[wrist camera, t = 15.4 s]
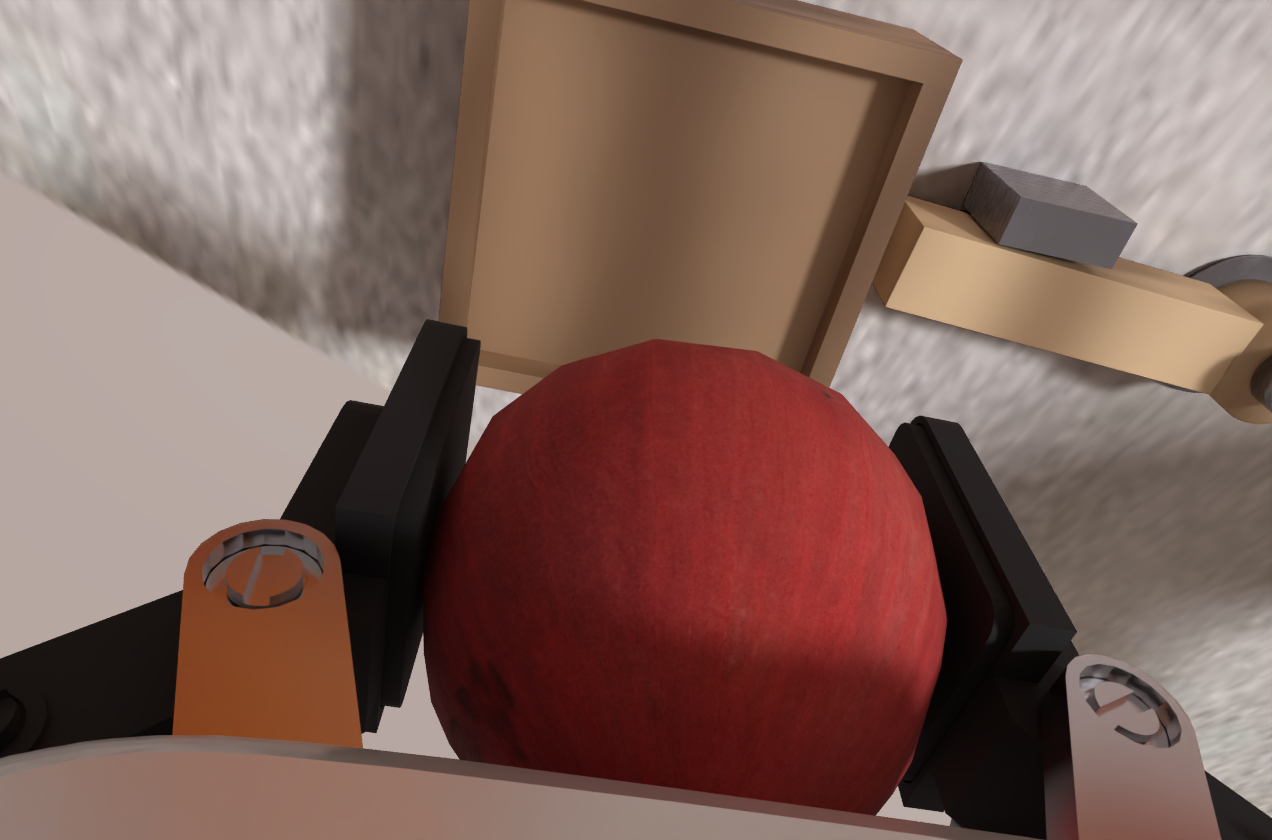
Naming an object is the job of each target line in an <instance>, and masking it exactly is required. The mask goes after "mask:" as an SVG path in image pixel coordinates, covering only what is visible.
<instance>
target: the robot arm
mask: <svg viewBox="0 0 1272 840" xmlns="http://www.w3.org/2000/svg"><path fill="white" fill-rule="evenodd" d="M467 332H468V330H467V327H464V326H459V325H454V324H448V323H443V322H438V321H433V320H426V321H425V323H424V325H423V327H422V329H421V331H420V333H419V335H418V337H417V339H416V341H415V343H414V345H413V347H412V349H411V352H410V354H409V356H408V358H407V360H406V362H405V364H404V366H403V368H402V370H401V372H400V374H399V376H398V379H397V381H396V383H395V385H394V387H393V389H392V391H391V393H390V395H389V397H388V400H387V402H386V404H385V406H379V405H374V404H368V403H363V402H358V401H352V400H350V401H347V402H346V403H345V405H344V406H343V408H342V409H341V411H340V413H339V415H338V416H337V418H336V420H335V422H334V423H333V425H332V427H331V429H330V431H329V433H328V434H327V436H326V438H325V440H324V441H323V443H322V445H321V447H320V448H319V450H318V452H317V454H316V456H315V458H314V459H313V461H312V463H311V465H310V467H309V468H308V470H307V472H306V474H305V475H304V477H303V479H302V481H301V482H300V484H299V486H298V488H297V490H296V491H295V493H294V495H293V497H292V499H291V500H290V502H289V504H288V506H287V508H286V509H285V511H284V513H283V515H282V516H281V518H280V519H278V520H277V519H262V520H255V521H249V522H244V523H239V524H237V525H234V526H232V527H229V528H226V529H224V530H221V531H219V532H217V533H216V534H214V535H213V536H211V537H210V538H208V539H207V540H206V541H204V542H203V543H201V545H200V546H199V547H198V548H197V549H196V550H195V552H194V553H193V554H192V555H191V557H190V558H189V561H188V564H187V567H186V570H185V573H184V584H183V590H182V591H179V592H176V593H174V594H171V595H168V596H166V597H163V598H160V599H157V600H155V601H152V602H150V603H147V604H144V605H142V606H139V607H137V608H134V609H131V610H129V611H126V612H123V613H120V614H118V615H115V616H112V617H110V618H107V619H105V620H102V621H99V622H97V623H94V624H91V625H88V626H86V627H83V628H80V629H78V630H75V631H72V632H70V633H67V634H64V635H62V636H59V637H57V638H54V639H51V640H48V641H46V642H43V643H41V644H38V645H35V646H33V647H30V648H27V649H25V650H22V651H19V652H17V653H14V654H11V655H9V656H6V657H4V658H1V659H0V840H1272V818H1271V817H1269V816H1268V815H1267V814H1265V813H1264V812H1262V811H1261V810H1259V809H1258V808H1257V807H1255V806H1254V805H1252V804H1251V803H1250V802H1248V801H1247V800H1245V799H1244V798H1243V797H1241V796H1240V795H1238V794H1237V793H1236V792H1234V791H1233V790H1231V789H1230V788H1229V787H1227V786H1226V785H1224V784H1223V783H1222V782H1220V781H1219V780H1217V779H1216V778H1215V777H1213V776H1212V775H1210V774H1209V773H1208V772H1206V771H1205V770H1204V767H1203V762H1202V758H1201V754H1200V750H1199V746H1198V742H1197V738H1196V734H1195V731H1194V729H1193V726H1192V724H1191V721H1190V719H1189V717H1188V715H1187V714H1186V713H1185V711H1184V710H1183V708H1182V707H1181V706H1180V704H1179V703H1178V702H1177V700H1176V699H1175V698H1174V697H1173V696H1172V695H1171V694H1170V693H1169V692H1168V691H1167V690H1166V689H1164V688H1163V687H1162V686H1161V685H1160V684H1159V683H1158V682H1156V681H1155V680H1153V679H1152V678H1151V677H1149V676H1148V675H1147V674H1145V673H1144V672H1142V671H1141V670H1139V669H1137V668H1135V667H1133V666H1131V665H1129V664H1127V663H1125V662H1123V661H1121V660H1118V659H1115V658H1111V657H1108V656H1105V655H1097V654H1085V655H1081V656H1079V654H1078V652H1077V650H1076V649H1075V647H1074V645H1073V643H1072V641H1071V639H1072V638H1073V636H1074V635H1075V634H1076V632H1077V631H1076V629H1075V627H1074V625H1073V624H1072V622H1071V620H1070V618H1069V616H1068V615H1067V613H1066V611H1065V609H1064V608H1063V606H1062V604H1061V602H1060V601H1059V599H1058V597H1057V595H1056V593H1055V592H1054V590H1053V588H1052V586H1051V585H1050V583H1049V581H1048V579H1047V577H1046V576H1045V574H1044V572H1043V570H1042V569H1041V567H1040V565H1039V563H1038V562H1037V560H1036V558H1035V556H1034V554H1033V553H1032V551H1031V549H1030V547H1029V546H1028V544H1027V542H1026V540H1025V538H1024V537H1023V535H1022V533H1021V531H1020V530H1019V528H1018V526H1017V524H1016V522H1015V521H1014V519H1013V517H1012V515H1011V514H1010V512H1009V510H1008V508H1007V507H1006V505H1005V503H1004V501H1003V499H1002V498H1001V496H1000V494H999V492H998V491H997V489H996V487H995V485H994V483H993V482H992V480H991V478H990V476H989V475H988V473H987V471H986V469H985V468H984V466H983V464H982V462H981V460H980V459H979V457H978V455H977V453H976V452H975V450H974V448H973V446H972V444H971V443H970V441H969V439H968V437H967V436H966V434H965V432H964V430H963V428H962V427H961V426H960V425H959V424H958V423H955V422H950V421H945V420H940V419H935V418H930V417H925V416H918V417H915V418H914V419H913V420H912V421H911V423H910V424H909V423H903V424H901V425H900V426H899V427H898V429H897V431H896V432H895V434H894V437H893V439H892V441H891V443H890V445H889V448H890V450H891V451H892V452H893V453H894V454H895V456H896V457H897V459H898V460H899V462H900V463H901V465H902V467H903V468H904V470H905V471H906V473H907V475H908V476H909V478H910V479H911V481H912V482H913V484H914V486H915V487H916V489H917V490H918V492H919V494H920V495H921V497H922V501H923V505H924V510H925V514H926V518H927V522H928V527H929V531H930V535H931V540H932V544H933V548H934V553H935V557H936V561H937V566H938V571H939V576H940V581H941V587H942V592H943V597H944V602H945V608H946V613H947V618H948V619H947V627H946V634H945V642H944V649H943V657H942V664H941V669H940V672H939V675H938V678H937V682H936V685H935V688H934V691H933V695H932V698H931V701H930V704H929V707H928V711H927V714H926V717H925V720H924V724H923V727H922V730H921V733H920V736H919V740H918V743H917V746H916V749H915V753H914V756H913V759H912V762H911V764H910V766H909V767H908V769H907V771H906V772H905V774H904V776H903V777H902V779H901V781H900V782H899V784H898V788H899V791H900V795H901V798H902V802H903V806H904V807H910V808H917V809H925V810H932V811H939V812H944V810H945V813H946V814H947V815H949V816H950V817H951V818H952V820H951V824H950V826H944V825H938V824H930V823H924V822H917V821H909V820H902V819H895V818H888V817H881V816H873V815H866V814H859V813H852V812H845V811H837V810H830V809H823V808H816V807H808V806H801V805H794V804H787V803H779V802H772V801H765V800H757V799H750V798H743V797H735V796H728V795H721V794H713V793H706V792H699V791H691V790H684V789H677V788H669V787H662V786H654V785H647V784H639V783H632V782H624V781H616V780H609V779H601V778H594V777H586V776H579V775H571V774H563V773H556V772H548V771H541V770H533V769H525V768H518V767H510V766H503V765H495V764H488V763H480V762H472V761H465V760H457V759H450V758H441V757H431V756H424V755H415V754H406V753H398V752H389V751H380V750H372V749H363V744H362V736H361V734H362V733H364V732H372V733H377V729H378V726H379V723H380V720H381V716H382V713H383V710H384V707H385V706H391V707H399V708H400V707H401V705H402V703H403V700H404V696H405V693H406V690H407V686H408V683H409V679H410V676H411V672H412V669H413V665H414V662H415V658H416V655H417V652H418V648H419V644H420V641H421V638H422V634H423V596H422V578H423V571H424V563H425V556H426V552H427V548H428V544H429V540H430V536H431V532H432V528H433V524H434V520H435V517H436V515H437V513H438V511H439V509H440V508H441V506H442V504H443V502H444V500H445V499H446V497H447V495H448V493H449V492H450V490H451V488H452V486H453V485H454V483H455V481H456V479H457V478H458V476H459V474H460V473H461V471H462V469H463V467H464V466H465V463H466V454H467V447H468V440H469V432H470V425H471V417H472V409H473V402H474V394H475V386H476V379H477V371H478V363H479V356H480V348H481V340H476V339H471V338H467Z"/></svg>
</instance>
